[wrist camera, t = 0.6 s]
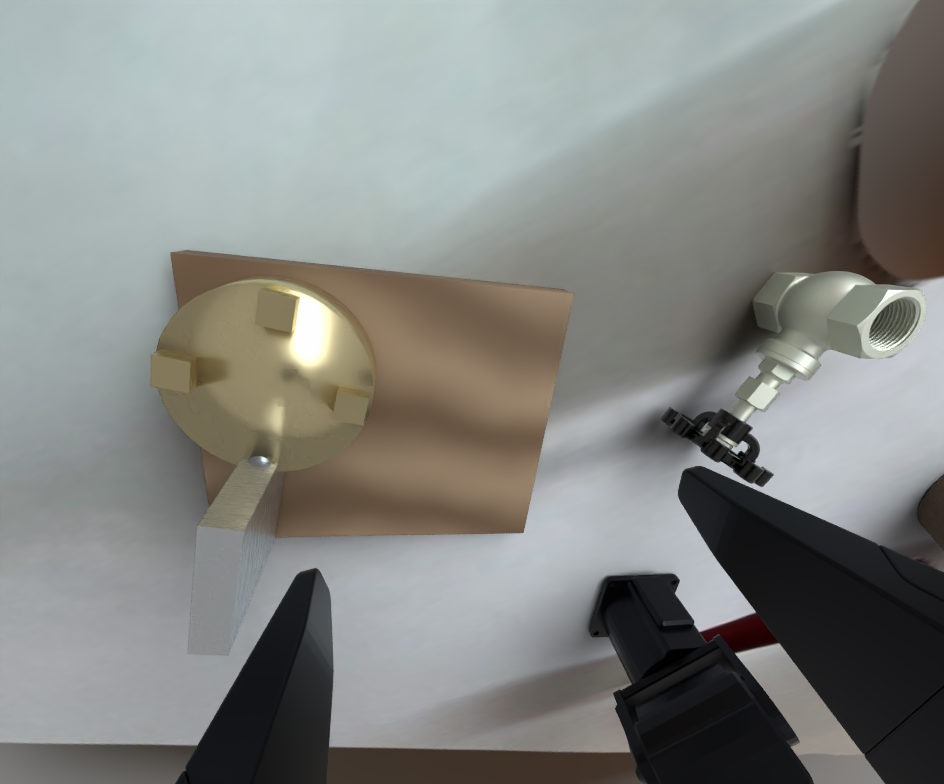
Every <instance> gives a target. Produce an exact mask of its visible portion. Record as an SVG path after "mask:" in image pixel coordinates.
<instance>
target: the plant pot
mask: <svg viewBox="0 0 944 784" xmlns="http://www.w3.org/2000/svg"><path fill="white" fill-rule="evenodd" d="M918 518H919V521H920V523H921V524H922V526H923V527H924V528H925V529H926V530H927V531H928V533H929V534H930V535H931V536H932V537H933V538H934V539H935V541H936V542H937V543H938V544H939V545H940V546H941V547H942V549H943V550H944V476H943V477H942V478H940V479H939V480H938V481H937V482H936V483H935V484H934V485H933V486H932V487H931V488H930V489H929V491H928V492H927V493H926V495H925V496H924V498H923V499H922V501H921V503H920V506H919V510H918Z"/></svg>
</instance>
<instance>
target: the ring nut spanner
mask: <svg viewBox="0 0 944 784" xmlns="http://www.w3.org/2000/svg"><path fill="white" fill-rule="evenodd" d="M375 382H376V360H375V354H374V350H373V347H372V344H371V341H370V339H369V337H368V334H367V333H366V331H365V329H364V328H363V326H362V324H361V323H360V321H359V320H358V319H357V318H356V316H355V315H354V314H353V313H352V312H351V311H350V310H349V309H348V308H347V307H346V306H345V305H344V304H343V303H342V302H341V301H339V300H338V299H337V298H335V297H334V296H333V295H331V294H329V293H328V292H326V291H325V290H323V289H321V288H319V287H317V286H314V285H312V284H310V283H307V282H304V281H301V280H298V279H294V278H289V277H284V276H271V275H268V276H254V277H248V278H243V279H240V280H237V281H234V282H231V283H228V284H226V285H223V286H220V287H218V288H215V289H212V290H210V291H207V292H205V293H203V294H201V295H199V296H197V297H195V298H193V299H192V300H191V301H189V302H188V303H186V304H185V305H184V306H182V307H181V308H180V309H179V310H178V311H177V312H176V313H175V314H174V315H173V317H172V318H171V319H170V321H169V322H168V324H167V325H166V326H165V328H164V330H163V333H162V335H161V337H160V339H159V342H158V346H157V350H156V352H155V353H153V354H151V382H150V386H153V387H158V390H159V393H160V396H161V398H162V401H163V403H164V405H165V407H166V409H167V411H168V413H169V414H170V416H171V417H172V418H173V420H174V421H175V423H176V424H177V425H178V426H179V427H180V429H181V430H182V431H183V432H184V433H185V434H186V435H187V436H188V437H189V438H190V439H192V440H193V441H194V442H195V443H196V444H197V445H199V446H200V447H202V448H203V449H205V450H206V451H208V452H209V453H211V454H213V455H215V456H217V457H218V458H220V459H223V460H225V461H227V462H230V463H232V464H235V465H237V467H236V468H235V470H234V471H233V473H232V474H231V476H230V477H229V479H228V480H227V482H226V483H225V485H224V486H223V488H222V489H221V491H220V492H219V494H218V495H217V497H216V498H215V500H214V501H213V503H212V504H211V506H210V507H209V509H208V510H207V512H206V513H205V515H204V516H203V518H202V519H201V521H200V522H199V524H198V525H197V533H196V547H195V560H194V573H193V587H192V600H191V613H190V627H189V640H188V654H206V655H229V652H230V650H231V647H232V645H233V642H234V640H235V637H236V635H237V632H238V630H239V627H240V625H241V622H242V620H243V617H244V615H245V612H246V610H247V607H248V605H249V602H250V600H251V597H252V595H253V592H254V590H255V587H256V585H257V582H258V580H259V577H260V575H261V572H262V570H263V567H264V565H265V562H266V560H267V557H268V555H269V552H270V550H271V547H272V545H273V542H274V539H275V532H276V526H277V520H278V513H279V507H280V501H281V495H282V488H283V482H284V476H285V471H295V470H300V469H305V468H309V467H312V466H315V465H318V464H321V463H323V462H325V461H327V460H329V459H331V458H333V457H334V456H336V455H338V454H339V453H341V452H342V451H343V450H344V449H345V448H347V447H348V446H349V445H350V444H351V443H352V442H353V441H354V440H355V438H356V437H357V436H358V435H359V433H360V432H361V430H362V429H363V427H364V425H365V423H366V421H367V419H368V416H369V413H370V410H371V407H372V401H373V395H374V389H375Z"/></svg>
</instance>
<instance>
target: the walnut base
mask: <svg viewBox="0 0 944 784" xmlns="http://www.w3.org/2000/svg"><path fill="white" fill-rule="evenodd" d="M170 254H171V260H172V267H173V273H174V280H175V286H176V293H177V299H178V306H179V309H180V308H181V307H182V306H184V305H185V304H186V303H188V302H189V301H191V300H192V299H193V298H195V297H197V296H199V295H201V294H203V293H205V292H207V291H210V290H212V289H215V288H218V287H220V286H223V285H226V284H228V283H231V282H234V281H237V280H240V279H243V278H248V277H254V276H268V275H271V276H284V277H289V278H294V279H298V280H301V281H304V282H307V283H310V284H312V285H314V286H317V287H319V288H321V289H323V290H325V291H326V292H328V293H329V294H331V295H333V296H334V297H335V298H337V299H338V300H339V301H341V302H342V303H343V304H344V305H345V306H346V307H347V308H348V309H349V310H350V311H351V312H352V313H353V314H354V315H355V316H356V318H357V319H358V320H359V321H360V323H361V324H362V326H363V328H364V329H365V331H366V333H367V334H368V337H369V339H370V341H371V344H372V347H373V350H374V354H375V360H376V382H375V389H374V395H373V401H372V407H371V410H370V413H369V416H368V419H367V421H366V423H365V425H364V427H363V429H362V430H361V432H360V433H359V435H358V436H357V437H356V438H355V440H354V441H353V442H352V443H351V444H350V445H349V446H348V447H347V448H345V449H344V450H343V451H342V452H341V453H339V454H338V455H336V456H334V457H333V458H331V459H329V460H327V461H325V462H323V463H321V464H318V465H315V466H312V467H309V468H305V469H300V470H295V471H285V476H284V482H283V488H282V495H281V501H280V507H279V513H278V520H277V526H276V532H275V537H311V536H373V535H434V534H496V533H524V528H525V523H526V519H527V514H528V509H529V504H530V500H531V495H532V490H533V486H534V481H535V476H536V471H537V467H538V462H539V457H540V452H541V448H542V443H543V438H544V434H545V429H546V424H547V419H548V415H549V410H550V405H551V401H552V396H553V391H554V386H555V382H556V377H557V372H558V367H559V363H560V358H561V353H562V349H563V344H564V339H565V334H566V330H567V325H568V320H569V316H570V311H571V306H572V301H573V297H574V294H573V293H571V292H568V291H566V290H564V289H555V288H545V287H535V286H526V285H516V284H507V283H497V282H487V281H478V280H468V279H459V278H449V277H440V276H430V275H420V274H411V273H401V272H392V271H382V270H372V269H363V268H353V267H344V266H334V265H324V264H315V263H305V262H296V261H286V260H277V259H267V258H257V257H248V256H238V255H229V254H219V253H209V252H200V251H190V250H185V251H178V252H171V253H170ZM200 450H201V456H202V463H203V469H204V476H205V482H206V489H207V495H208V502H209V507H210V506H211V504H212V503H213V501H214V500H215V498H216V497H217V495H218V494H219V492H220V491H221V489H222V488H223V486H224V485H225V483H226V482H227V480H228V479H229V477H230V476H231V474H232V473H233V471H234V470H235V468H236V467H237V465H235V464H232V463H230V462H227V461H225V460H223V459H220V458H218V457H217V456H215V455H213V454H211V453H209V452H208V451H206V450H205V449H203V448H202V447H200Z"/></svg>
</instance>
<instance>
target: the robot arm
mask: <svg viewBox="0 0 944 784" xmlns="http://www.w3.org/2000/svg"><path fill="white" fill-rule="evenodd" d="M678 497H679V500H680V502H681V504H682V505H683V507H684V508H685V510H686V512H687V513H688V515H689V517H690V518H691V520H692V521H693V523H694V525H695V526H696V528H697V530H698V531H699V533H700V534H701V536H702V538H703V539H704V541H705V543H706V544H707V546H708V547H709V549H710V550H711V552H712V553H713V555H714V556H715V558H716V559H717V561H718V562H719V563H720V565H721V566H722V567H723V569H724V570H725V571H726V573H727V574H728V575H729V577H730V578H731V579H732V581H733V582H734V583H735V585H736V586H737V587H738V589H739V590H740V591H741V593H742V594H743V595H744V597H745V598H746V599H747V601H748V602H749V603H750V605H751V606H752V607H753V609H754V610H755V611H756V613H757V614H758V615H759V617H760V618H761V619H762V621H763V622H764V623H765V624H766V626H767V627H768V628H769V630H770V631H771V632H772V634H773V635H774V636H775V638H776V639H777V640H778V642H779V643H780V644H781V646H782V647H783V648H784V650H785V651H786V652H787V654H788V655H789V656H790V658H791V659H792V660H793V662H794V663H795V664H796V666H797V667H798V668H799V670H800V671H801V672H802V674H803V675H804V676H805V678H806V679H807V680H808V682H809V683H810V684H811V686H812V687H813V688H814V690H815V691H816V692H817V694H818V695H819V696H820V698H821V699H822V700H823V701H824V703H825V704H826V705H827V707H828V708H829V709H830V711H831V712H832V713H833V715H834V716H835V717H836V719H837V720H838V721H839V723H840V724H841V725H842V727H843V728H844V729H845V731H846V732H847V733H848V735H849V736H850V737H851V739H852V740H853V741H854V743H855V744H856V745H857V747H858V748H859V749H860V751H861V752H862V753H863V754H865V758H866V759H867V760H868V762H869V763H870V764H871V766H872V767H873V768H874V770H875V771H876V772H877V774H878V775H879V776H880V778H881V779H882V780H883V781H884V783H885V784H944V572H942V571H940V570H937V569H935V568H932V567H930V566H928V565H925V564H923V563H921V562H918V561H916V560H914V559H911V558H909V557H907V556H904V555H902V554H900V553H897V552H895V551H893V550H891V549H888V548H886V547H884V546H881V545H880V546H878V544H876V543H875V542H872V541H870V540H868V539H866V538H863V537H861V536H859V535H857V534H854V533H852V532H850V531H847V530H845V529H843V528H841V527H838V526H836V525H834V524H832V523H829V522H827V521H825V520H823V519H820V518H818V517H816V516H814V515H811V514H809V513H807V512H805V511H802V510H800V509H798V508H795V507H793V506H791V505H789V504H786V503H784V502H782V501H780V500H777V499H775V498H773V497H771V496H768V495H766V494H764V493H762V492H759V491H757V490H755V489H753V488H750V487H748V486H746V485H743V484H741V483H739V482H737V481H734V480H732V479H730V478H728V477H725V476H723V475H721V474H719V473H716V472H714V471H712V470H710V469H707V468H705V467H702V466H695V467H691V468H687V469H685V470H684V471H683V473H682V476H681V480H680V485H679V489H678ZM679 582H680V580H679V578H678V577H677V576H676V575H675V574H665V575H639V576H613V577H608V578H607V579H606V580H605V582H604V585H603V588H602V591H601V594H600V597H599V600H598V603H597V606H596V609H595V612H594V615H593V618H592V621H591V625H590V628H589V632H590V635H591V637H609V638H610V640H611V642H612V645H613V647H614V649H615V651H616V653H617V655H618V657H619V659H620V661H621V663H622V665H623V667H624V669H625V671H626V673H627V675H628V677H629V679H630V681H631V683H632V685H630V686H628V687H626V688H625V689H623V690H620V689H619V690H618V691H616V692H614V693H613V694H614V697H615V700H616V702H617V706H616V708H615V710H616V712H617V714H618V717H619V719H620V721H621V724H622V726H623V728H624V731H625V734H626V737H627V740H628V744H629V748H630V752H631V756H632V760H633V764H634V768H635V772H636V774H637V777H638V779H639V780H640V782H641V783H643V784H814V783H813V780H812V778H811V776H810V774H809V772H808V771H807V770H806V768H805V767H804V765H803V764H802V763H801V761H800V760H799V758H798V757H797V756H796V754H795V753H794V751H793V750H792V749H791V746H794V745H796V744H798V743H800V741H799V739H798V737H797V736H796V734H795V733H794V731H793V730H792V728H791V727H790V725H789V724H788V722H787V721H786V720H785V718H784V717H783V715H782V714H781V712H780V711H779V710H778V708H777V707H776V706H775V704H774V703H773V702H772V700H771V699H770V698H769V696H768V695H767V694H766V692H765V691H764V690H763V688H762V687H761V686H760V684H759V683H758V682H757V681H756V679H755V678H754V677H753V676H752V674H751V673H750V672H749V671H748V669H747V668H746V667H745V666H744V665H743V663H742V662H741V661H740V660H739V658H738V657H737V656H736V655H735V653H734V652H733V651H732V650H731V648H730V647H729V646H728V645H727V643H726V642H725V641H724V640H723V638H722V637H721V636H720V635H717V636H715V637H714V638H713V640H711V641H710V642H708V643H707V642H706V641H705V639H704V638H703V637H702V635H701V634H700V632H699V631H698V630H697V628H696V627H695V625H694V620H693V618H692V617H691V616H690V614H689V613H688V611H687V610H686V609H685V607H684V606H683V605H682V603H681V602H680V600H679V599H678V598H677V596H676V595H675V592H676V589H677V587H678V584H679ZM333 672H334V671H333V642H332V618H331V597H330V592H329V589H328V587H327V585H326V582H325V580H324V578H323V576H322V574H321V572H320V571H319V570H318V569H317V568H314V569H310V570H306V571H302V572H300V573H298V574H297V575H296V577H295V578H294V580H293V582H292V584H291V585H290V587H289V589H288V591H287V592H286V594H285V596H284V597H283V599H282V601H281V603H280V604H279V606H278V608H277V609H276V611H275V613H274V615H273V616H272V618H271V620H270V622H269V623H268V625H267V627H266V628H265V630H264V632H263V634H262V635H261V637H260V639H259V640H258V642H257V644H256V646H255V647H254V649H253V651H252V653H251V654H250V656H249V658H248V659H247V661H246V663H245V665H244V666H243V668H242V670H241V671H240V673H239V675H238V677H237V678H236V680H235V682H234V684H233V685H232V687H231V689H230V690H229V692H228V694H227V696H226V697H225V699H224V701H223V702H222V704H221V706H220V708H219V709H218V711H217V713H216V715H215V716H214V718H213V720H212V721H211V723H210V725H209V727H208V728H207V730H206V732H205V734H204V735H203V737H202V739H201V740H200V742H199V744H198V746H197V747H196V749H195V751H194V752H193V754H192V756H191V758H190V759H189V761H188V763H187V765H186V767H185V769H186V771H183V772H182V773H181V775H180V776H179V778H178V780H177V781H176V783H175V784H326V782H327V768H328V752H329V738H330V723H331V707H332V692H333Z"/></svg>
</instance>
